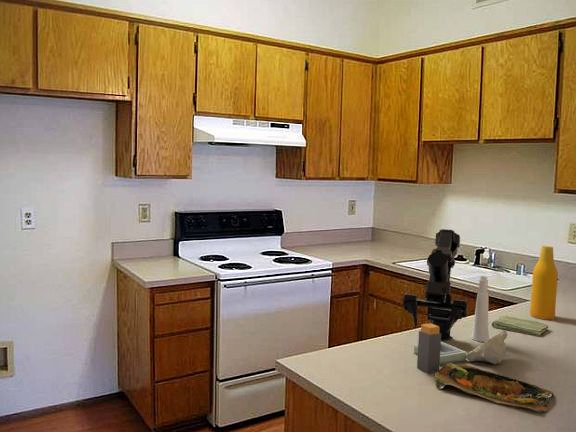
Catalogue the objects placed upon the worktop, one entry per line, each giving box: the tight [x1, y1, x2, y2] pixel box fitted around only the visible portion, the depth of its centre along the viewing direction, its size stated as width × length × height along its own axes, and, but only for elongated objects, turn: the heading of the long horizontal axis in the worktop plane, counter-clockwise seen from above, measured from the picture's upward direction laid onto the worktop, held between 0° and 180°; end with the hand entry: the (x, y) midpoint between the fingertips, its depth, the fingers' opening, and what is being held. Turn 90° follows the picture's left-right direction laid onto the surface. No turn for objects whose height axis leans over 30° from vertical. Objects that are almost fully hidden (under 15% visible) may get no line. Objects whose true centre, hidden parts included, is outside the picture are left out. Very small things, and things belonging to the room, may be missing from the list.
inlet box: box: [413, 341, 467, 366], centre depth 165 cm, size 11×11×3 cm
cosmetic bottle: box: [470, 275, 490, 343], centre depth 183 cm, size 6×6×22 cm
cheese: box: [466, 330, 508, 365], centre depth 162 cm, size 15×7×15 cm
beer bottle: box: [529, 245, 559, 321], centre depth 215 cm, size 9×9×29 cm
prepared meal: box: [434, 363, 554, 413], centre depth 141 cm, size 28×4×18 cm
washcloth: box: [491, 315, 549, 337], centre depth 199 cm, size 13×18×3 cm
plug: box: [416, 322, 442, 374], centre depth 153 cm, size 4×4×13 cm
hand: (431, 329), depth 156 cm, fingers open, 9 cm apart
